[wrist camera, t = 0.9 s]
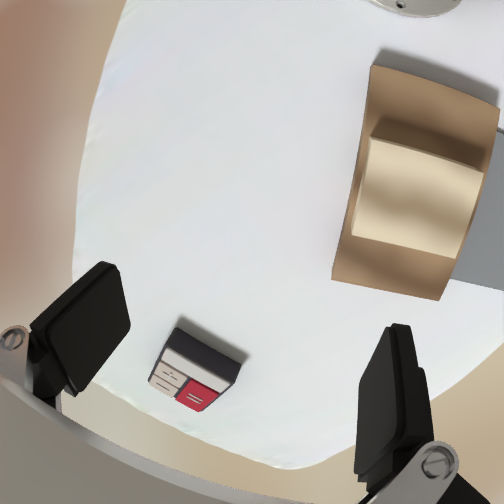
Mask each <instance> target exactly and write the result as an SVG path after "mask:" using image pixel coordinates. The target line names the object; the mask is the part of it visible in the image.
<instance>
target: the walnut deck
mask: <svg viewBox="0 0 504 504" xmlns="http://www.w3.org/2000/svg"><path fill="white" fill-rule="evenodd" d="M499 115H500V109H499V108H497V107H495V106H493V105H491V104H489V103H486V102H484V101H482V100H480V99H477V98H475V97H473V96H470V95H468V94H465V93H463V92H460V91H458V90H455V89H453V88H450V87H447V86H445V85H442V84H439V83H436V82H433V81H430V80H427V79H424V78H421V77H418V76H414V75H411V74H408V73H404V72H401V71H397V70H393V69H389V68H386V67H381V66H377V65H372V66H371V67H370V75H369V83H368V91H367V98H366V105H365V112H364V119H363V125H362V131H361V137H360V143H359V149H358V154H357V160H356V165H355V170H354V175H353V181H352V185H351V190H350V195H349V200H348V204H347V209H346V214H345V218H344V222H343V227H342V231H341V235H340V239H339V243H338V248H337V252H336V256H335V259H334V263H333V267H332V278H331V280H335V281H340V282H345V283H350V284H355V285H360V286H365V287H370V288H374V289H379V290H384V291H389V292H394V293H400V294H405V295H410V296H415V297H420V298H425V299H430V300H435V301H439V300H440V298H441V296H442V294H443V292H444V289H445V287H446V285H447V283H448V281H449V279H450V276H451V274H452V272H453V270H454V267H455V265H456V263H457V260H458V258H459V256H460V253H461V251H462V248H463V246H464V243H465V240H466V238H467V235H468V232H469V230H470V227H471V224H472V221H473V218H474V215H475V212H476V209H477V206H478V203H479V200H480V197H481V193H482V190H483V187H484V183H485V179H486V176H487V172H488V168H489V164H490V160H491V156H492V151H493V147H494V142H495V137H496V132H497V126H498V121H499ZM369 136H371V137H375V138H379V139H383V140H387V141H391V142H395V143H399V144H403V145H406V146H410V147H413V148H417V149H420V150H424V151H427V152H430V153H433V154H437V155H440V156H443V157H446V158H449V159H452V160H455V161H458V162H461V163H464V164H466V165H469V166H472V167H475V168H476V169H478V170H479V171H481V172H482V173H484V175H483V179H482V182H481V186H480V189H479V193H478V196H477V199H476V203H475V206H474V209H473V212H472V215H471V218H470V221H469V224H468V227H467V229H466V232H465V235H464V237H463V240H462V243H461V245H460V248H459V250H458V253H457V255H456V258H455V259H454V258H450V257H446V256H442V255H437V254H433V253H429V252H425V251H421V250H416V249H412V248H408V247H404V246H399V245H395V244H390V243H386V242H382V241H377V240H372V239H368V238H363V237H359V236H354V235H352V232H351V223H352V219H353V214H354V210H355V206H356V201H357V197H358V192H359V188H360V183H361V178H362V173H363V168H364V163H365V158H366V153H367V147H368V142H369Z"/></svg>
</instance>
